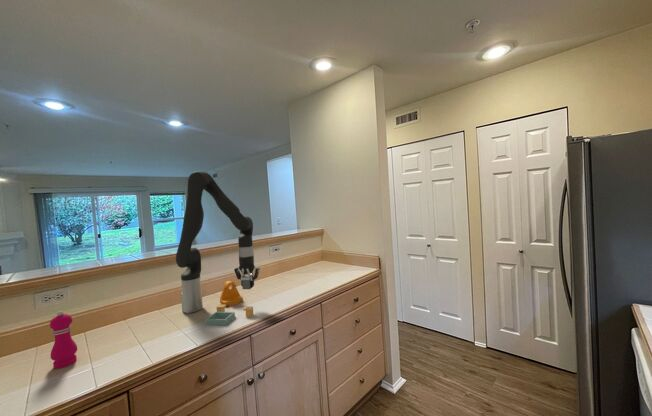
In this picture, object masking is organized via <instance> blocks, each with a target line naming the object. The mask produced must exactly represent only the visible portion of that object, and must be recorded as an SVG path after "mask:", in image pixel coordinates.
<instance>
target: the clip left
mask: <svg viewBox="0 0 652 416" xmlns="http://www.w3.org/2000/svg"><path fill="white" fill-rule="evenodd" d="M226 308H227V305H222V304H219V305H218V306H216V312H226Z"/></svg>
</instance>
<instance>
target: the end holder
mask: <svg viewBox="0 0 652 416" xmlns="http://www.w3.org/2000/svg"><path fill="white" fill-rule="evenodd" d="M235 318H236V313H235V311H225V312H217V311H215V312H213V313H212V314H211V315H210V316H208V317H206V318H205V324H206V325H210V326H211V325H212V326H227V325H228V324H229V323H230V322H231V321H233V320H234V319H235Z"/></svg>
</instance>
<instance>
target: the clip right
mask: <svg viewBox="0 0 652 416" xmlns="http://www.w3.org/2000/svg"><path fill="white" fill-rule="evenodd" d="M243 311H244V312H245V318H251V317H253V316H254V306H245V307H244V308H243Z"/></svg>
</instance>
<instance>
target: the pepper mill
mask: <svg viewBox="0 0 652 416" xmlns="http://www.w3.org/2000/svg"><path fill="white" fill-rule="evenodd" d="M72 322H73V317H72V316H71V315H70V314H68V313H66V314H65V312H64V311H63V310H59V311H58V312H57V313H56V316H55V317H53V318H52V319H51V320H50V322H49V328H50V329H52V335H53V336H54V343H53V345H52V348H51V350H50V359H51V360H52V361H53V363H52V364H53V369H63V368H66V367H68V366H71V365H73V364H74V363H75V362H77V359H78V358H77V355H76V353H77V352H78V345H77V344H76V342H75V340H74V339H73V338H72V335H71V330H72V325H71V324H72Z"/></svg>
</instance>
